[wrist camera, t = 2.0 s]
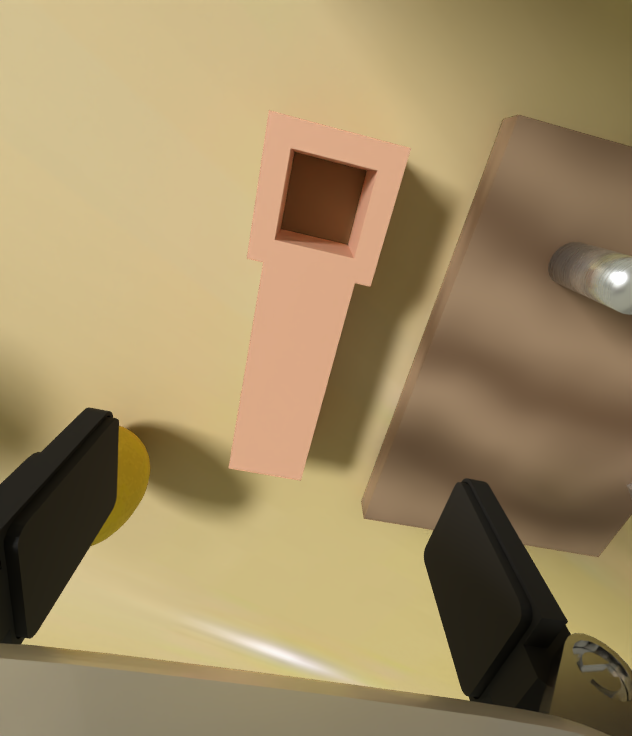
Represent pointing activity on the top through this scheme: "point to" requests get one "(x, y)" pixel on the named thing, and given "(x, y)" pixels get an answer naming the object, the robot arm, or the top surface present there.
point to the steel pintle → (594, 274)
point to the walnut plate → (523, 355)
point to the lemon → (127, 482)
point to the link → (304, 291)
